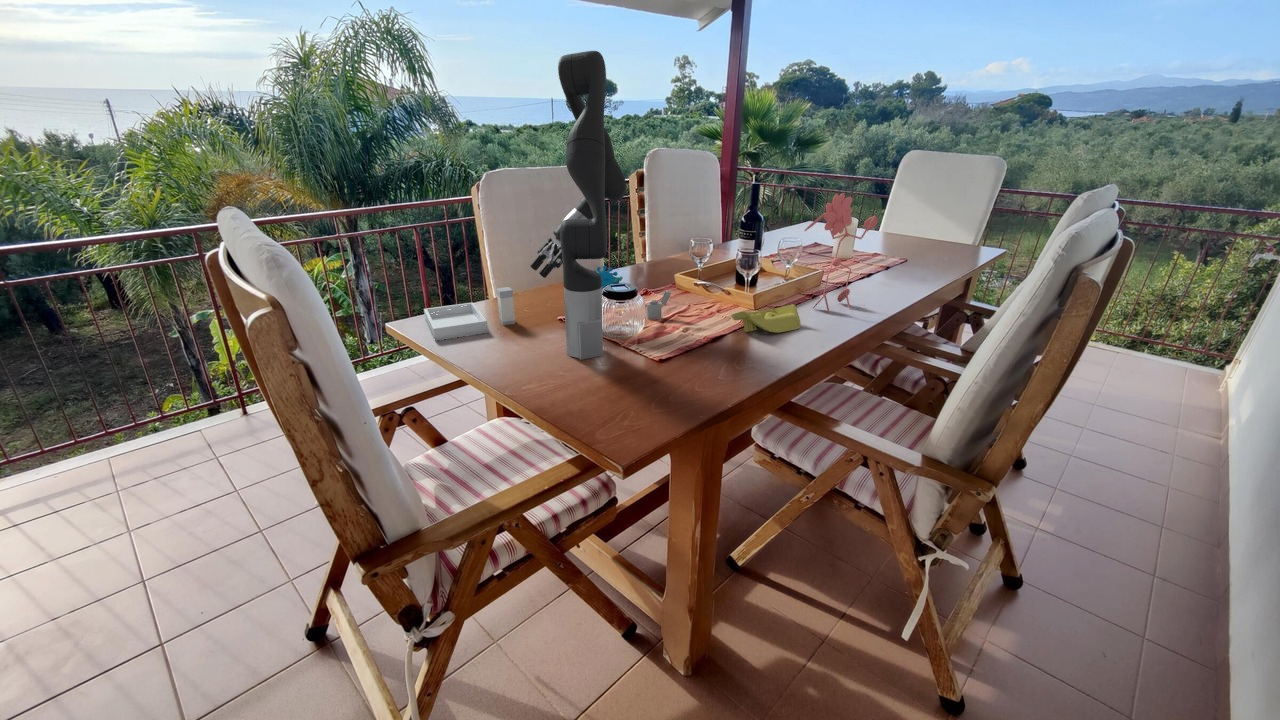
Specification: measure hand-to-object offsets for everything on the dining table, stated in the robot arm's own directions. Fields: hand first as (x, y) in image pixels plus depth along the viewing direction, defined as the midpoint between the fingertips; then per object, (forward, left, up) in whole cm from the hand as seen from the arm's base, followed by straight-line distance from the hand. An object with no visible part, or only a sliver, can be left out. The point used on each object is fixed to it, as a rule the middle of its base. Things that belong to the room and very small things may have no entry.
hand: (537, 272), depth 157 cm
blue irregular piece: (+18, -30, -14) cm, 38 cm away
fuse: (0, +10, -14) cm, 17 cm away
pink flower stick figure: (-28, -86, -14) cm, 92 cm away
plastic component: (-36, -55, -14) cm, 67 cm away
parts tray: (+3, +24, -14) cm, 28 cm away
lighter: (-15, -32, -14) cm, 38 cm away
